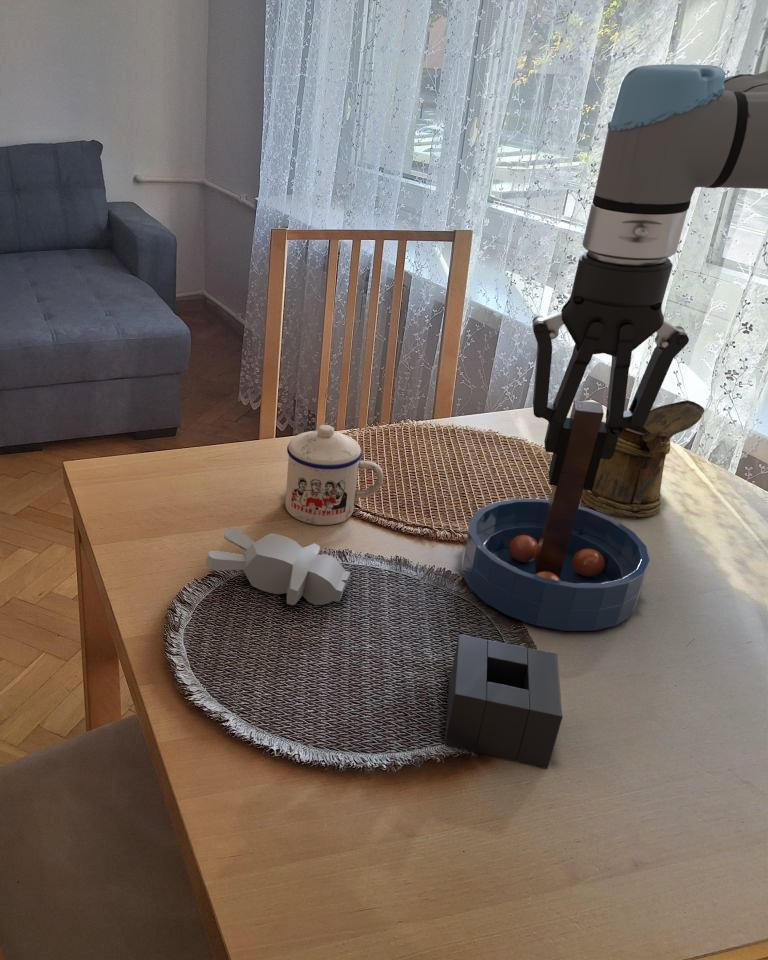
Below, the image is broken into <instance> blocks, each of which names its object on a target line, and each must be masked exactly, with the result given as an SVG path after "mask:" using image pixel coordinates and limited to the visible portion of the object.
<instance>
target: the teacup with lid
mask: <svg viewBox="0 0 768 960" xmlns="http://www.w3.org/2000/svg"><path fill="white" fill-rule="evenodd" d="M286 452H287V455H288V459H287V472H286V473H287V474H286V489H285V490H286V491H285V503H284V504H285V508H286V512H288V513H289V514H290V515H291V516H292V517H293V518H295V519H296V520H297V521H298V520H299V521H301V522H303V523H305V524H310V525H317V526H331V525H336V524H340V523H342V522H345V521H346V520H348V519H349V518H350V517H351V516H352V515H353V513H354V510H355V509H354V508H355V499H356V498H357V499H364V498H369V497H371V496H373V495H375V494H376V493H377V492H378V491H379V490H380V488H381V486H382V485H383V482H384V472H383V469H382V467H381V466H380V465H379V464H377V463H376V462H373V461H370V460H361V459H362V454H363V452H362V449H361V446H360V444H359V443H358V441H356V439H354V438H352V437H351V436H349V435H347V434H345V433H342V432H338V431H335V428H334V426H332V425H329V424H321V425H319V426H318V427H317V430H310V431H304V432H301V433H299V434H297V435H295V436H294V437H292V439H290V441H289V442H288V445H287V448H286ZM359 469H367V470H371V471H373V472H374V473H375V474H376V475H377V478H376V480H375V482H374V483H373V484H372V485H371V486H370V487H368V488H365V489H357V482H358V473H359Z"/></svg>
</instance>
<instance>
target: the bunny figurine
mask: <svg viewBox="0 0 768 960" xmlns="http://www.w3.org/2000/svg"><path fill="white" fill-rule="evenodd" d="M223 537H224V539H225V540H226V541H227V542H229V543H231V544H232V545H235V546H237V547H238V548H240V549H241V550H244V552H242V553H237V552H230V551H223V550H211V551H209V552H208V553H207V556H206V561H205V566H206V568H208V569H209V570H212V571H243V572H244V574H245V576H246V579H247V580H248V581H249V584H250V586H252V587H254V588H256V589H258V590H260V591H263V592H266V593H269V594H274V595H282V594H286V604H287V605H291V606H295V605H296V604H297V603H298V601H300V599H301V598H302V597H303V598H304V599H305V600H306V601H307V603H309V604H312V605H315V606H324V605H326V604H327V605H328V604H329V603H332V602H335V603H340V602H341V599H342V597H343V595H344V592H345V590H346V587H347V585H348V584H349V579H350V575H351V571H348V570H346V569H345V568H344V567H343V565H342V564H341V562H340V561H339V560H338V559H336V558H335V557H334V556H333V555H330V554H327V553H323V554H320V552H321V548H322V546H320V545H319V544H317V543H315V542H313V543H311V544H309V545H306V546H302V545H300V544H299V543H298V542H297V541H296V540H294V539H293V538H290V537H289V536H285V535H282V534H278V533H272V532H270V533H268V534H266V535H265V536H263V537H262V538H260V539H258V540H257V541H254V540H253V539H252V538H251V537H249V536H248V535H247V534H246V533H244V532H242V531H241V530H240V529H238V528H237V527H233V526H232V527H227V528H226V529H224V532H223Z"/></svg>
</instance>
